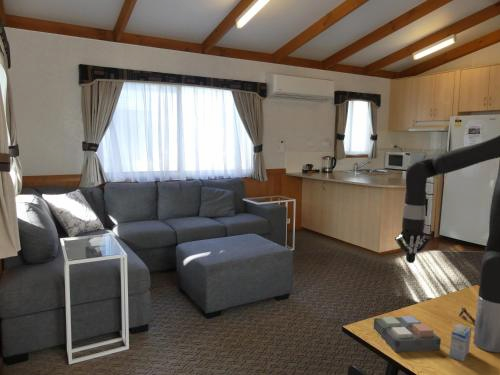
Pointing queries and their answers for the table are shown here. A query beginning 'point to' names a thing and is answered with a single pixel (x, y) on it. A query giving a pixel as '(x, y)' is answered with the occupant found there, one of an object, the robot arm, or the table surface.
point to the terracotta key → (422, 330)
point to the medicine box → (460, 342)
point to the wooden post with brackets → (467, 315)
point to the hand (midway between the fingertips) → (410, 262)
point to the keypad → (406, 339)
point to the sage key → (390, 322)
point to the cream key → (401, 332)
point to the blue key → (409, 320)
